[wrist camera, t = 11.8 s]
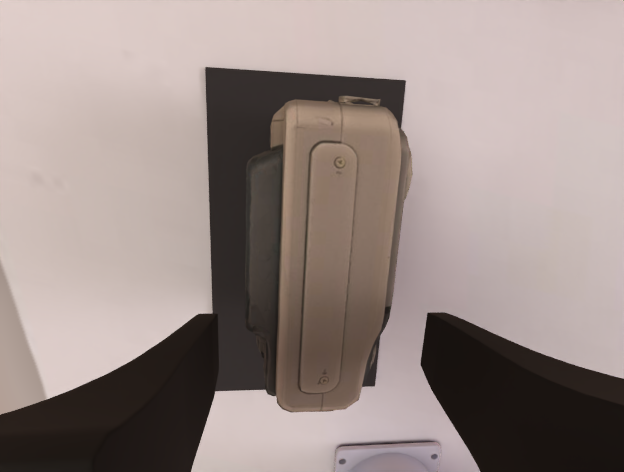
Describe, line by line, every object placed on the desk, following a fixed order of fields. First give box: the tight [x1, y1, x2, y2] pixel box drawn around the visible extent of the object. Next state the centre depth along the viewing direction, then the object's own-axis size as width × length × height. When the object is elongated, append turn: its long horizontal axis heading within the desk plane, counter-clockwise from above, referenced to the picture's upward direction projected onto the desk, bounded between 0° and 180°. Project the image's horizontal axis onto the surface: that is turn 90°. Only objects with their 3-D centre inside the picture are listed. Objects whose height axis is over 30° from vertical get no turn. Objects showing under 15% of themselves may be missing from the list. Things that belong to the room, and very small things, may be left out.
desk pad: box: [206, 67, 406, 391], centre depth 22 cm, size 20×11×1 cm, turn 177°
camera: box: [245, 96, 412, 412], centre depth 16 cm, size 11×6×10 cm, turn 175°
